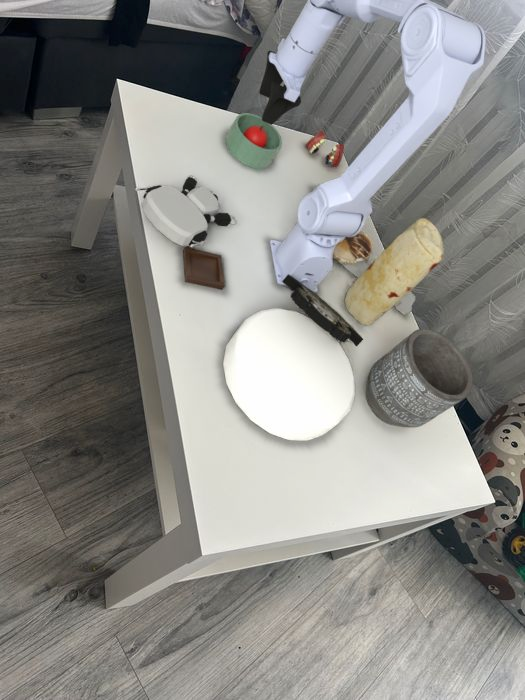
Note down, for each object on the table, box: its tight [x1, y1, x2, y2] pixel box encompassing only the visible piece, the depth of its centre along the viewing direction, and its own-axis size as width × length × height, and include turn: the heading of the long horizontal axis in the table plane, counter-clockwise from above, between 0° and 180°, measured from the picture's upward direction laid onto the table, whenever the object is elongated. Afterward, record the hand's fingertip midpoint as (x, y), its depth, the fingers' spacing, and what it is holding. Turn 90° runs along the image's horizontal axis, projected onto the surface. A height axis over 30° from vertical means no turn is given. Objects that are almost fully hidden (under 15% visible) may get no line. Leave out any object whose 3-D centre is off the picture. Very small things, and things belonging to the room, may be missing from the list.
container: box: [222, 307, 356, 442], centre depth 87 cm, size 20×20×5 cm
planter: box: [365, 328, 474, 428], centre depth 92 cm, size 12×12×13 cm
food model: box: [344, 217, 444, 327], centre depth 98 cm, size 10×7×20 cm
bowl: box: [225, 112, 283, 170], centre depth 113 cm, size 10×10×4 cm
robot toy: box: [134, 174, 238, 248], centre depth 94 cm, size 12×4×15 cm
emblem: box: [282, 274, 364, 347], centre depth 93 cm, size 16×2×15 cm
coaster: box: [182, 246, 226, 291], centre depth 92 cm, size 6×6×1 cm
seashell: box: [333, 230, 374, 264], centre depth 105 cm, size 8×6×10 cm
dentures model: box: [305, 130, 345, 168], centre depth 124 cm, size 6×4×8 cm
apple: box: [244, 126, 267, 148], centre depth 112 cm, size 5×5×5 cm
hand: (265, 108), depth 107 cm, fingers open, 7 cm apart
